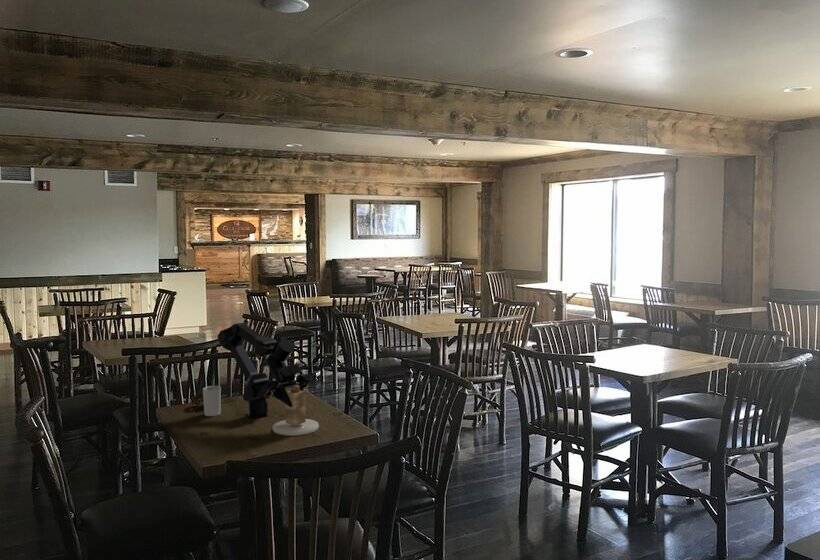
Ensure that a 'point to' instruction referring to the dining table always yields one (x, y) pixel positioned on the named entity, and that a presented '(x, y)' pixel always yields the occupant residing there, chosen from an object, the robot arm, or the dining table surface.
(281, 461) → the dining table surface
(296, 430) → the cream plate
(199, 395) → the pottery mug
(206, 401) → the drinking glass
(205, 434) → the dining table surface
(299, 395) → the pepper mill
